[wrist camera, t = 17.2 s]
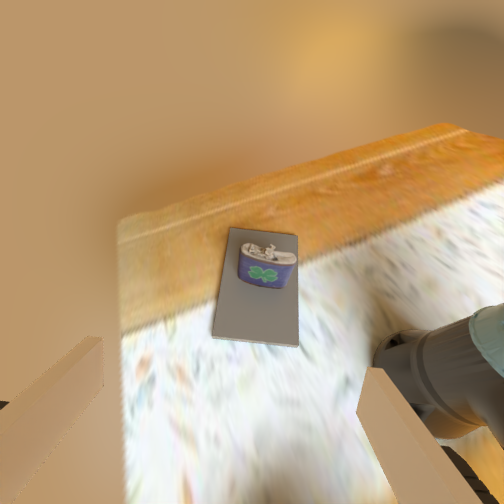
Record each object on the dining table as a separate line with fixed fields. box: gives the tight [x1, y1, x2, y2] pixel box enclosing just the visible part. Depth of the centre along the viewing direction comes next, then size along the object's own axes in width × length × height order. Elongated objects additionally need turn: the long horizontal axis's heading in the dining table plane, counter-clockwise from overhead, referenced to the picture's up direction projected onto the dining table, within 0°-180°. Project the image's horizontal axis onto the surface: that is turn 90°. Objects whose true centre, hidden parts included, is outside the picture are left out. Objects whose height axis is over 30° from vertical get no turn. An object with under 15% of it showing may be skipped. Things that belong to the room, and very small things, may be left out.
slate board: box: [212, 228, 299, 348], centre depth 48 cm, size 14×22×2 cm, turn 175°
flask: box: [238, 243, 297, 289], centre depth 43 cm, size 9×3×11 cm, turn 78°
